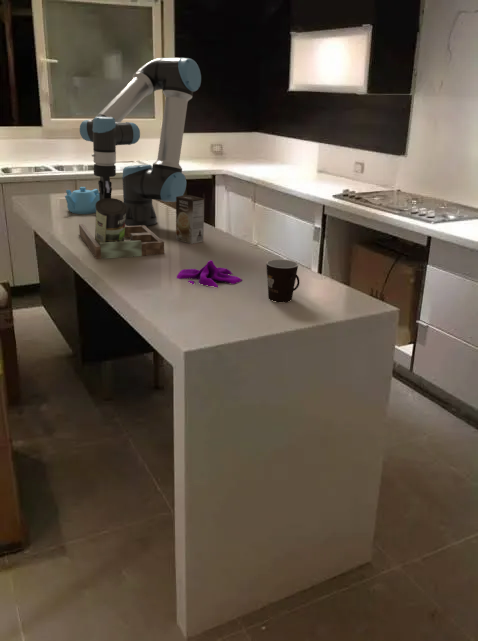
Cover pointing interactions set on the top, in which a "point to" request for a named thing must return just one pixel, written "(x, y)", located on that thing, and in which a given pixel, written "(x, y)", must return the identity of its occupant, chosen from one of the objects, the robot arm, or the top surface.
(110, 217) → the coffee can
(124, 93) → the robot arm
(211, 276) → the cloth
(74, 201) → the teapot
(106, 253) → the wooden compartment tray
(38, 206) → the top surface
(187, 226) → the coffee box
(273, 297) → the coffee mug
